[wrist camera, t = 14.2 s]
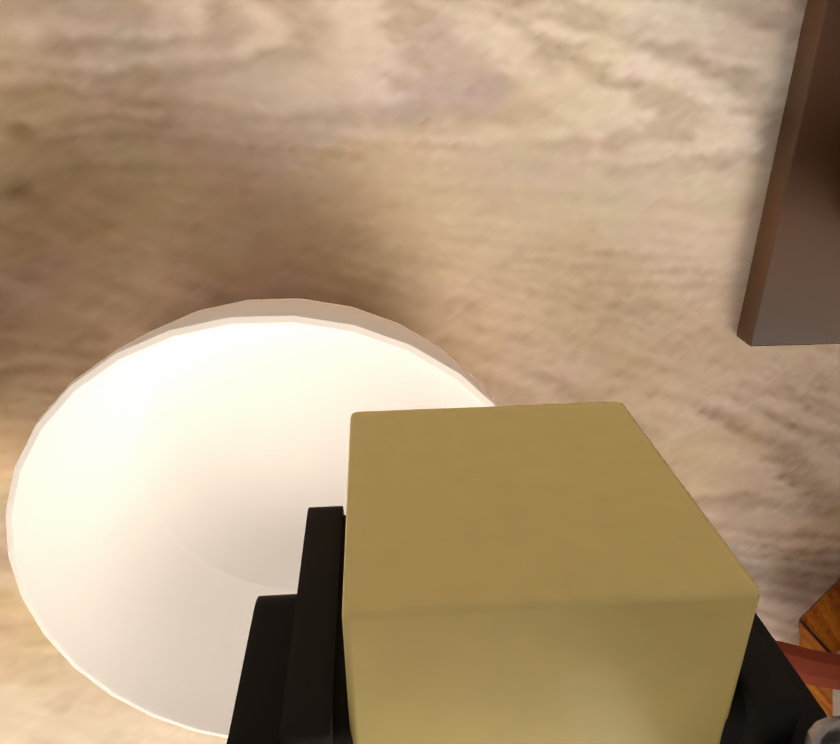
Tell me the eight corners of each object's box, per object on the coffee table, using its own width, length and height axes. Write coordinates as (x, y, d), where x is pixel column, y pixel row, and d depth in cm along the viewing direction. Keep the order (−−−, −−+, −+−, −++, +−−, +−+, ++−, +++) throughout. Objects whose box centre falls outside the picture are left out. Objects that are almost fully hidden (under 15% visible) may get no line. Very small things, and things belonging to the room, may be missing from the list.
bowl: (173, 161, 25) (104, 201, 18) (591, 365, 29) (655, 456, 23) (33, 534, 31) (-56, 664, 24) (395, 653, 36) (401, 789, 29)
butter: (350, 409, 10) (340, 614, 6) (622, 398, 10) (766, 591, 6) (366, 703, 12) (365, 972, 9) (584, 689, 13) (671, 944, 9)
